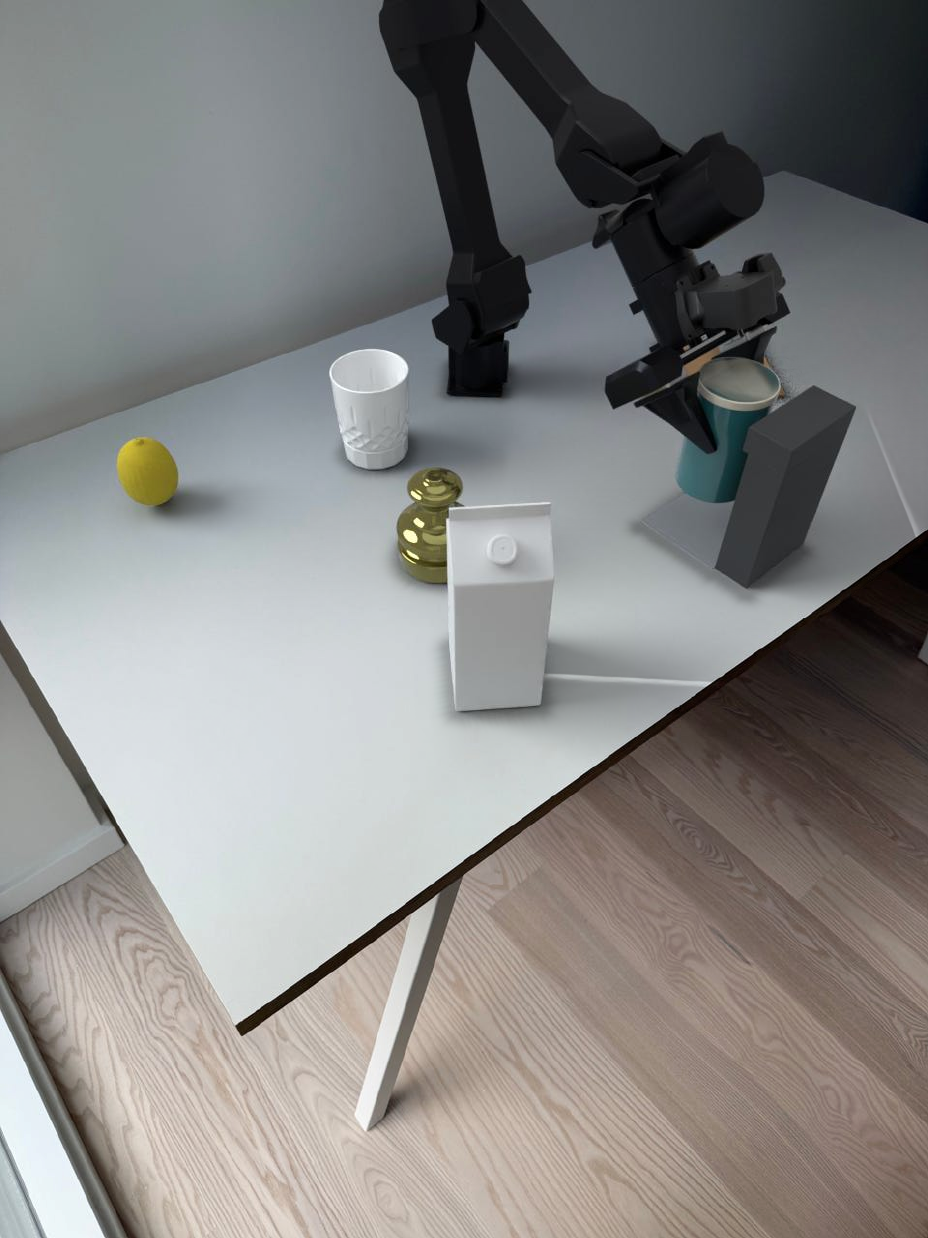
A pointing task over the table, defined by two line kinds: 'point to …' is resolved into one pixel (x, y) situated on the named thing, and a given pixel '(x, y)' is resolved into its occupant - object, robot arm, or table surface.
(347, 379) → the white cup
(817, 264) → the table surface
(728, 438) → the container
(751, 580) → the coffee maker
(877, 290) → the table surface
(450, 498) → the brass calibration weight
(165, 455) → the lemon
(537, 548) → the milk carton
